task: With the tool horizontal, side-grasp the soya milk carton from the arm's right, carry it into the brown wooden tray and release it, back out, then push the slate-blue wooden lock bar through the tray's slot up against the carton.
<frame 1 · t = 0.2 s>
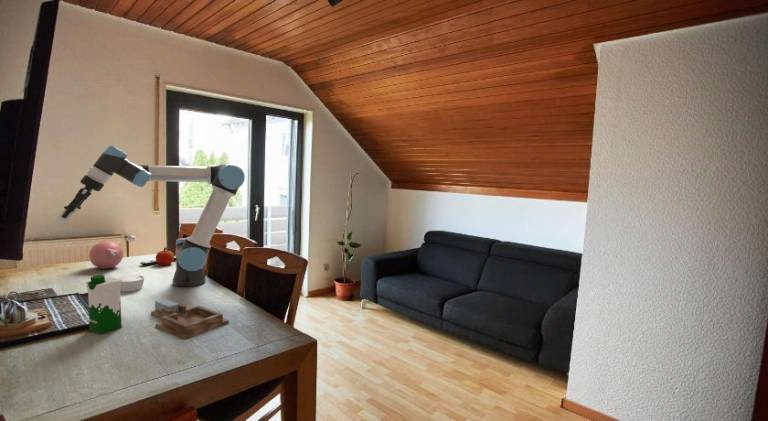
hand: (61, 222, 156), 35 cm above the table, tool tilted 35°, fingers open, 13 cm apart
pink ovoid shape: (108, 269, 213), on the table
fruit: (164, 264, 227), on the table
brown wooden tray: (192, 324, 147), on the table
lock bar: (166, 306, 155), point 3 cm above the table, slide at 0.0 cm
soya milk: (106, 329, 140), on the table
ramekin: (130, 289, 183), on the table
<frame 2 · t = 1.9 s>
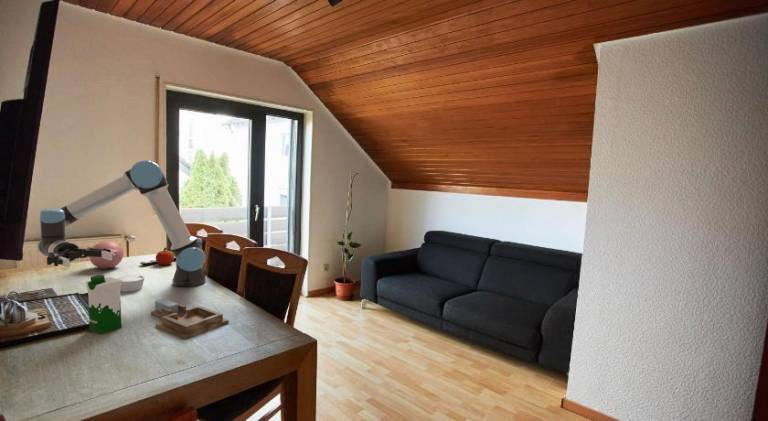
hand: (90, 259, 142), 24 cm above the table, tool horizontal, fingers open, 13 cm apart
nothing on the table moved.
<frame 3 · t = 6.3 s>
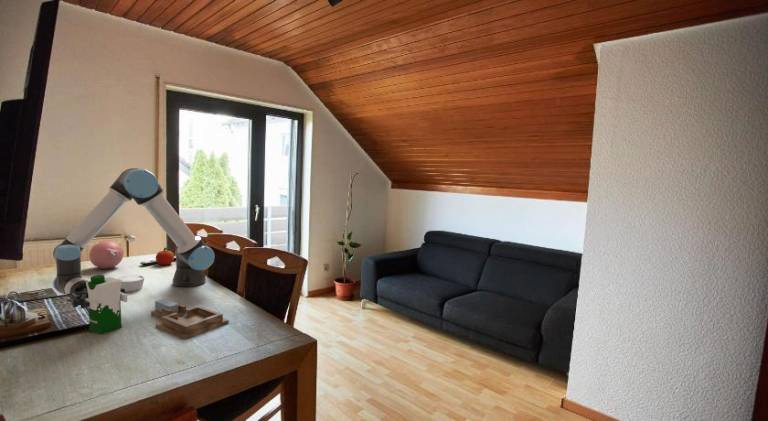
hand: (111, 302, 136), 11 cm above the table, tool horizontal, fingers closed on soya milk, 9 cm apart
soya milk: (106, 329, 140), on the table, touching gripper
everything else where it was.
when the fingers open (14 cm above the table, at t = 12.0 s): soya milk drops 2 cm, resting on brown wooden tray.
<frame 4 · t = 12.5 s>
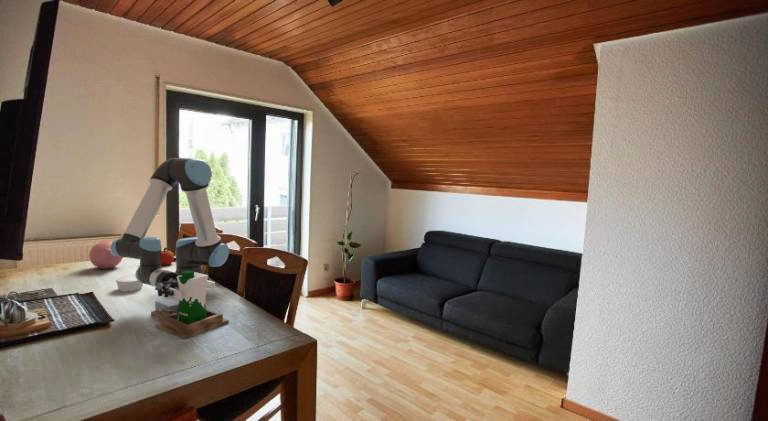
hand: (198, 290, 144), 14 cm above the table, tool horizontal, fingers open, 13 cm apart
soya milk: (192, 322, 147), point 1 cm above the table, touching brown wooden tray
everything else where it was.
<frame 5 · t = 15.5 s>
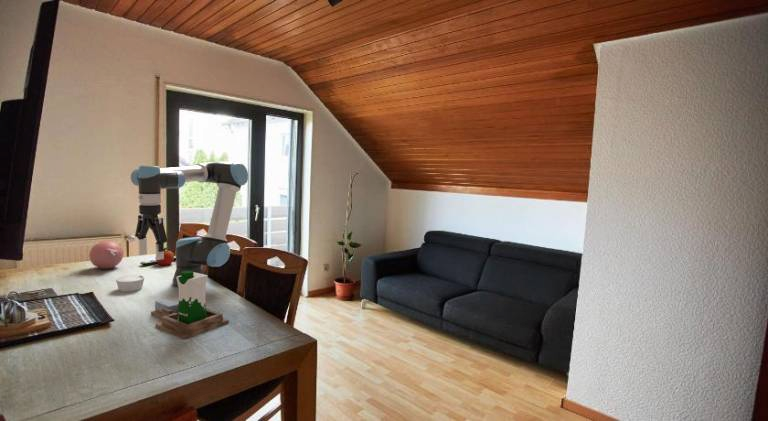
hand: (151, 256, 158), 22 cm above the table, tool pointing down, fingers open, 12 cm apart
nothing on the table moved.
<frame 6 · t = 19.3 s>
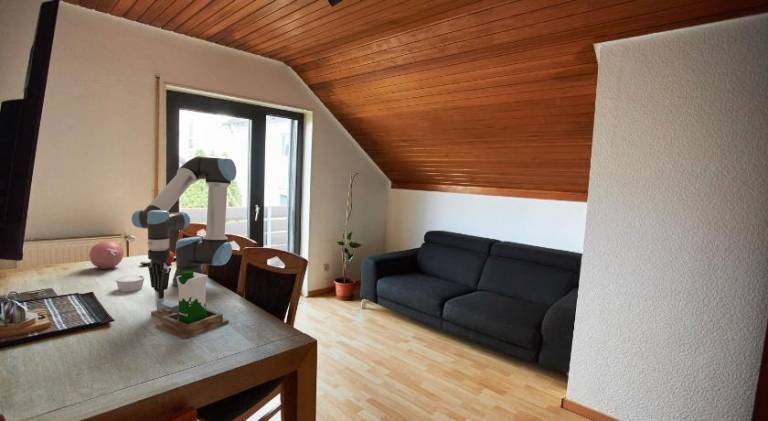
hand: (159, 305, 157), 3 cm above the table, tool pointing down, fingers closed
lock bar: (168, 307, 154), point 3 cm above the table, slide at 1.2 cm, touching gripper
everything else where it was.
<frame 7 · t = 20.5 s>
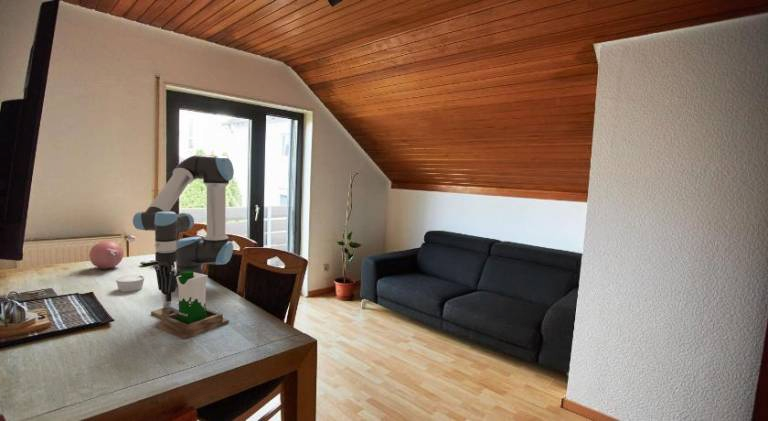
hand: (167, 308, 155), 3 cm above the table, tool pointing down, fingers closed
lock bar: (175, 310, 152), point 3 cm above the table, slide at 6.2 cm, touching gripper
everything else where it was.
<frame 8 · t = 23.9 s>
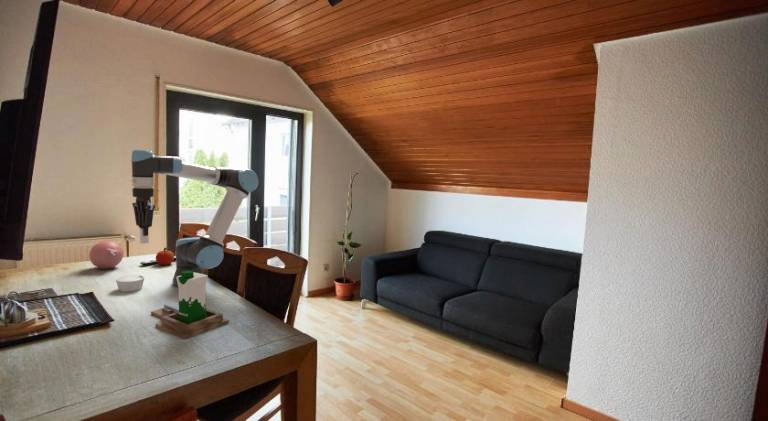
hand: (144, 242, 163), 26 cm above the table, tool pointing down, fingers closed
lock bar: (175, 310, 152), point 3 cm above the table, slide at 6.2 cm
everything else where it was.
at the end: soya milk 0.0 cm off-centre on the brown wooden tray, point 1.0 cm above the brown wooden tray's base; soya milk tilted 0°; lock bar slide at 6.2 cm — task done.
